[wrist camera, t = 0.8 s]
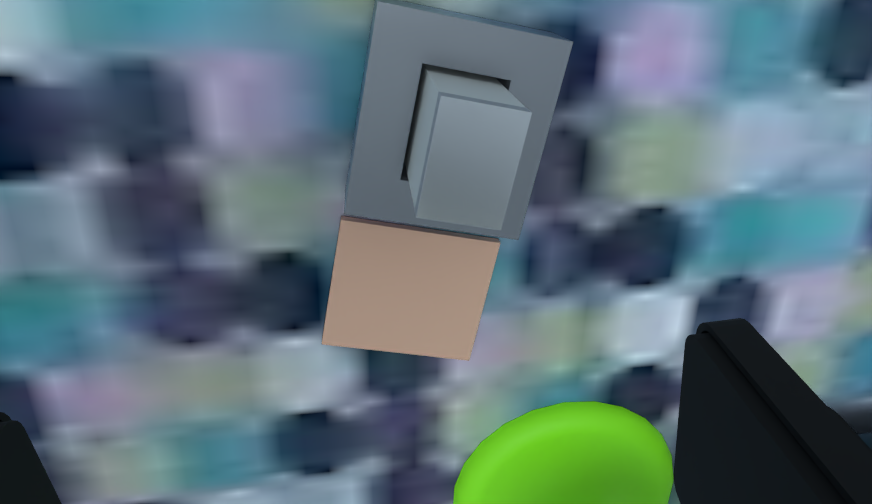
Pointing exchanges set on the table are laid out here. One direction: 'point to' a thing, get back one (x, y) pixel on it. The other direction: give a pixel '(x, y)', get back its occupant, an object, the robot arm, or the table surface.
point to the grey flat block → (396, 93)
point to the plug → (464, 147)
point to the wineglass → (569, 459)
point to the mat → (407, 289)
